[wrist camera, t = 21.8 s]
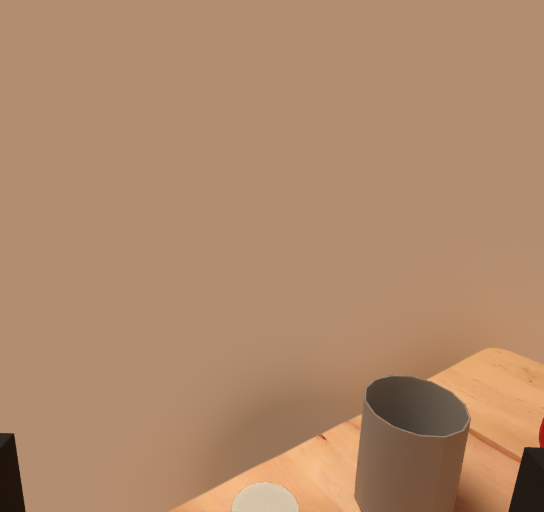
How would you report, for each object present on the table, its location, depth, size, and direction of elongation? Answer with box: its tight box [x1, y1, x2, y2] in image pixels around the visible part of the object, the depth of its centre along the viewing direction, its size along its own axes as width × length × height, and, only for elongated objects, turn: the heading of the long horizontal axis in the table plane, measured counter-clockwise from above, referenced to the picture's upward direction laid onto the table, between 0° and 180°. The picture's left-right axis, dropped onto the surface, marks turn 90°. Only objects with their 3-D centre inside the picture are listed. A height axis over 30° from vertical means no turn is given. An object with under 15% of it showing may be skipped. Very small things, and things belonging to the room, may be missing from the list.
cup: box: [354, 375, 471, 512], centre depth 35 cm, size 8×8×10 cm
